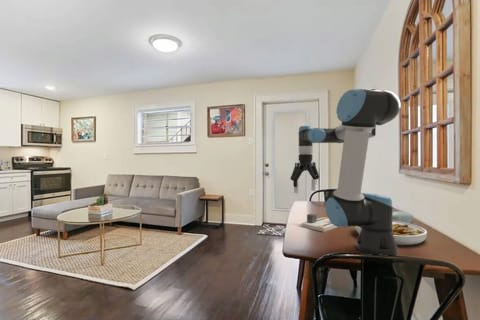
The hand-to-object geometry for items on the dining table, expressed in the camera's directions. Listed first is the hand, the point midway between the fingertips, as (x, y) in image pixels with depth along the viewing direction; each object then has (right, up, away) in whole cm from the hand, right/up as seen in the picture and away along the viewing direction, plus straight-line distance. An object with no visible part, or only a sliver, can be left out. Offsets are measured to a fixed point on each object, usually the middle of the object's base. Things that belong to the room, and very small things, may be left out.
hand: (305, 191), depth 144 cm
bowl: (+36, -20, -19) cm, 45 cm away
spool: (+53, -20, -1) cm, 56 cm away
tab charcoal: (+4, -17, +2) cm, 18 cm away
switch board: (+11, -20, +2) cm, 23 cm away
